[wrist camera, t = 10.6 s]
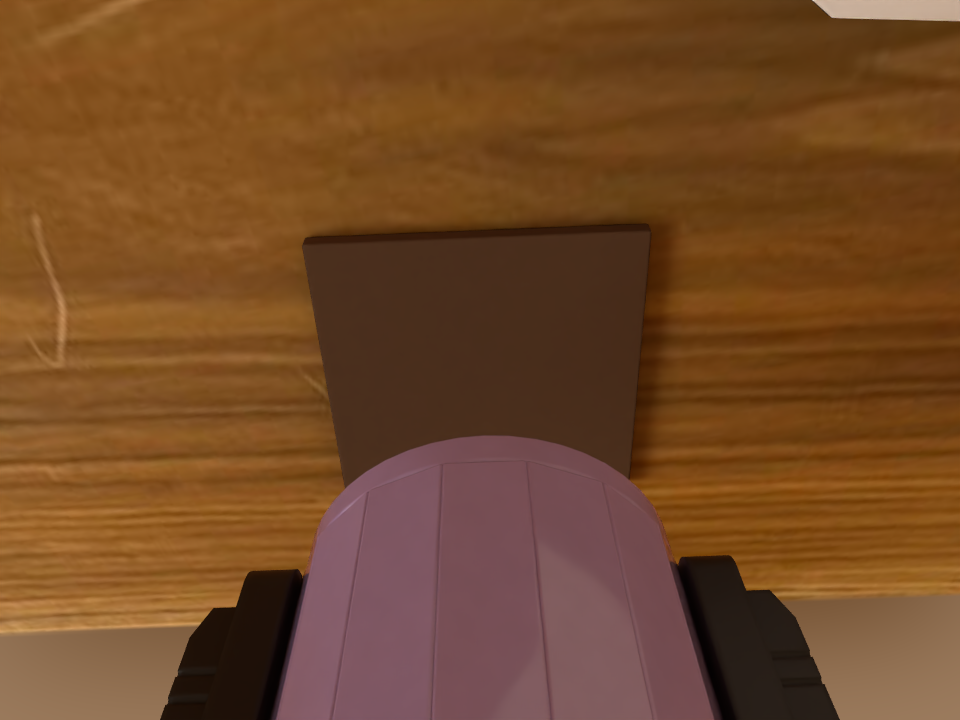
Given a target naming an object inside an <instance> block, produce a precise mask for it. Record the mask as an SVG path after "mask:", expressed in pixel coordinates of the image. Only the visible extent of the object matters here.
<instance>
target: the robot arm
mask: <svg viewBox="0 0 960 720" xmlns="http://www.w3.org/2000/svg"><path fill="white" fill-rule="evenodd" d="M678 568H679V570H680V573H681V576H682V579H683V583H684V586H685V590H686V593H687V596H688V600H689V603H690V606H691V610H692V613H693V616H694V620H695V623H696V627H697V630H698V633H699V637H700V640H701V643H702V647H703V650H704V653H705V657H706V660H707V663H708V667H709V670H710V674H711V677H712V680H713V684H714V687H715V690H716V694H717V697H718V700H719V704H720V707H721V711H722V714H723V717H724V720H840V719H839V717H838V715H837V712H836V710H835V708H834V705H833V703H832V701H831V698H830V696H829V694H828V691H827V689H826V687H825V684H822V681H821V675H820V673H819V671H818V668H817V666H816V664H815V662H814V659H813V657H811V656H810V650H809V647H808V645H807V643H806V641H805V638H804V636H803V634H802V631H801V629H800V627H799V624H798V622H797V620H796V618H795V616H794V615H793V614H792V613H791V612H790V611H789V610H788V609H787V608H786V607H785V606H784V605H783V604H782V603H781V602H780V600H779V599H778V598H777V597H776V596H775V595H774V594H773V593H772V592H771V591H770V590H752V591H746V589H745V586H744V584H743V581H742V578H741V576H740V573H739V570H738V568H737V565H736V563H735V561H734V559H733V558H732V557H731V556H729V555H723V556H694V557H681V558H680V561H679V565H678ZM301 582H302V575H301V573H300V571H299V570H298V569H295V570H268V571H250V572H249V573H248V575H247V576H246V578H245V581H244V584H243V587H242V590H241V593H240V596H239V600H238V603H237V606H236V607H231V608H213V610H212V611H211V612H210V613H209V614H208V616H207V617H206V618H205V619H204V621H203V622H202V623H201V624H200V625H199V627H198V628H197V629H196V630H195V632H194V633H193V634H192V635H191V637H190V638H189V641H188V644H187V647H186V650H185V652H184V655H183V658H182V661H181V663H180V666H179V669H178V676H177V677H175V680H174V683H173V685H172V688H171V691H170V694H169V697H168V704H167V705H165V708H164V711H163V713H162V716H161V719H160V720H269V716H270V712H271V708H272V703H273V699H274V695H275V691H276V686H277V682H278V678H279V674H280V669H281V665H282V661H283V657H284V652H285V648H286V644H287V640H288V635H289V631H290V627H291V623H292V618H293V614H294V610H295V606H296V601H297V597H298V593H299V589H300V584H301Z"/></svg>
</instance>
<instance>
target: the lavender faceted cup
mask: <svg viewBox="0 0 960 720" xmlns="http://www.w3.org/2000/svg"><path fill="white" fill-rule="evenodd" d="M269 720H724V717H723V714H722V711H721V707H720V704H719V700H718V697H717V694H716V690H715V687H714V684H713V680H712V677H711V674H710V670H709V667H708V663H707V660H706V657H705V653H704V650H703V647H702V643H701V640H700V637H699V633H698V630H697V627H696V623H695V620H694V616H693V613H692V610H691V606H690V603H689V600H688V596H687V593H686V590H685V586H684V583H683V579H682V576H681V573H680V570H679V568H678V566H677V564H676V561H675V559H674V557H673V555H672V551H671V548H670V545H669V541H668V538H667V535H666V532H665V529H664V526H663V523H662V521H661V519H660V517H659V516H658V514H657V512H656V510H655V509H654V507H653V505H652V504H651V503H650V501H649V500H648V499H647V498H646V497H645V495H644V494H643V493H642V492H641V490H640V489H638V488H637V487H636V486H635V485H634V484H633V483H632V482H631V481H629V480H628V479H627V478H626V477H625V476H624V475H623V474H621V473H620V472H618V471H617V470H615V469H614V468H612V467H611V466H609V465H608V464H606V463H605V462H602V461H600V460H598V459H596V458H594V457H592V456H590V455H588V454H586V453H584V452H581V451H579V450H576V449H573V448H570V447H567V446H564V445H562V444H558V443H553V442H549V441H545V440H540V439H536V438H527V437H519V436H510V435H479V436H468V437H457V438H452V439H447V440H442V441H437V442H432V443H429V444H425V445H422V446H419V447H416V448H412V449H409V450H407V451H404V452H402V453H400V454H398V455H395V456H393V457H391V458H388V459H386V460H384V461H383V462H381V463H379V464H378V465H376V466H374V467H373V468H371V469H369V470H368V471H366V472H365V473H363V474H362V475H361V476H360V477H358V478H357V479H356V480H355V481H353V482H352V483H351V484H349V485H348V486H347V488H346V489H345V490H344V491H343V492H342V493H341V494H340V495H339V496H338V497H337V498H336V499H335V500H334V501H333V503H332V504H331V506H330V507H329V508H328V510H327V511H326V513H325V514H324V516H323V517H322V519H321V522H320V524H319V526H318V528H317V530H316V533H315V536H314V540H313V544H312V548H311V552H310V556H309V560H308V565H307V568H306V570H305V573H304V576H303V579H302V582H301V584H300V589H299V593H298V597H297V601H296V606H295V610H294V614H293V618H292V623H291V627H290V631H289V635H288V640H287V644H286V648H285V652H284V657H283V661H282V665H281V669H280V674H279V678H278V682H277V686H276V691H275V695H274V699H273V703H272V708H271V712H270V716H269Z"/></svg>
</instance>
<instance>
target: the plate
mask: <svg viewBox="0 0 960 720" xmlns="http://www.w3.org/2000/svg"><path fill="white" fill-rule="evenodd" d="M812 1H813V2H814V3H815V4H816V5H817V6H818V7H820V8H821V9H822V10H823V11H824V12H825V13H826V14H827V15H829V16H831V17H832V18H855V19H895V20H934V21H960V0H812Z"/></svg>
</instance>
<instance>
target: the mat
mask: <svg viewBox="0 0 960 720" xmlns="http://www.w3.org/2000/svg"><path fill="white" fill-rule="evenodd" d="M650 242H651V230H650V228H649V226H648V224H629V225H605V226H580V227H555V228H531V229H506V230H481V231H457V232H432V233H407V234H383V235H358V236H334V237H309V238H305V240H304V242H303V245H302V248H303V254H304V259H305V265H306V270H307V276H308V282H309V287H310V293H311V299H312V304H313V310H314V316H315V321H316V327H317V333H318V338H319V344H320V349H321V355H322V361H323V366H324V372H325V378H326V383H327V389H328V395H329V400H330V406H331V412H332V417H333V423H334V428H335V434H336V440H337V445H338V451H339V457H340V462H341V468H342V474H343V479H344V485H345V489H346V488H347V486H348V485H349V484H351V483H352V482H353V481H355V480H356V479H357V478H358V477H360V476H361V475H362V474H363V473H365V472H366V471H368V470H369V469H371V468H373V467H374V466H376V465H378V464H379V463H381V462H383V461H384V460H386V459H388V458H391V457H393V456H395V455H398V454H400V453H402V452H404V451H407V450H409V449H412V448H416V447H419V446H422V445H425V444H429V443H432V442H437V441H442V440H447V439H452V438H457V437H468V436H479V435H510V436H519V437H527V438H536V439H540V440H545V441H549V442H553V443H558V444H562V445H564V446H567V447H570V448H573V449H576V450H579V451H581V452H584V453H586V454H588V455H590V456H592V457H594V458H596V459H598V460H600V461H602V462H605V463H606V464H608V465H609V466H611V467H612V468H614V469H615V470H617V471H618V472H620V473H621V474H623V475H624V476H625V477H626V478H627V479H628V480H629V478H630V467H631V455H632V444H633V433H634V422H635V411H636V399H637V388H638V377H639V366H640V354H641V343H642V332H643V321H644V310H645V298H646V287H647V276H648V265H649V254H650Z"/></svg>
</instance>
